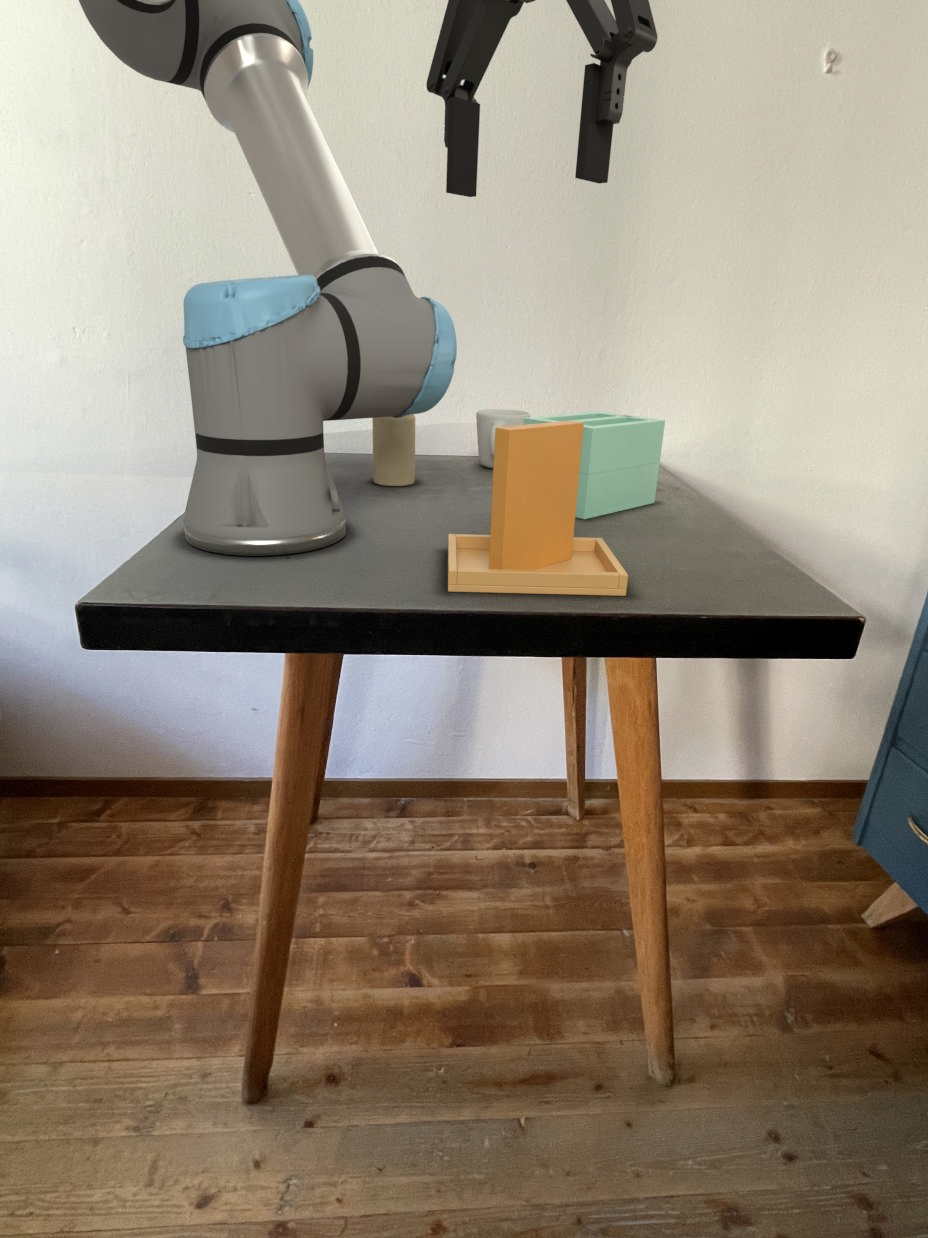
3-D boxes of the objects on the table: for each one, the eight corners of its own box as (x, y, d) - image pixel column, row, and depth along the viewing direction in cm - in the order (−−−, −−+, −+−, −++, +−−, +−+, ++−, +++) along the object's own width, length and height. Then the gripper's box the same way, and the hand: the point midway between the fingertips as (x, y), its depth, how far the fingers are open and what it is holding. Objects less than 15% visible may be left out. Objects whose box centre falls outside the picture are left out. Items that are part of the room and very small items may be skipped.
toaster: (512, 504, 89) (517, 418, 85) (590, 488, 98) (597, 411, 95) (577, 521, 82) (586, 428, 78) (654, 502, 92) (665, 420, 88)
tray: (447, 591, 59) (448, 570, 58) (447, 552, 69) (448, 533, 69) (625, 596, 60) (628, 575, 59) (600, 556, 70) (602, 537, 69)
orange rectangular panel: (488, 573, 62) (495, 427, 57) (558, 554, 68) (569, 420, 63) (501, 579, 61) (509, 429, 56) (571, 559, 66) (584, 422, 62)
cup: (521, 477, 104) (524, 418, 101) (465, 473, 105) (467, 415, 102) (530, 464, 114) (533, 410, 111) (479, 460, 115) (481, 407, 112)
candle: (416, 478, 101) (417, 402, 97) (413, 487, 96) (413, 407, 92) (376, 477, 101) (375, 401, 97) (370, 485, 96) (369, 405, 92)
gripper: (750, -243, 42) (691, 180, 51) (458, -97, 59) (449, 204, 67) (679, -319, 38) (626, 163, 46) (383, -137, 54) (383, 193, 62)
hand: (521, 188), depth 57 cm, fingers open, 13 cm apart
